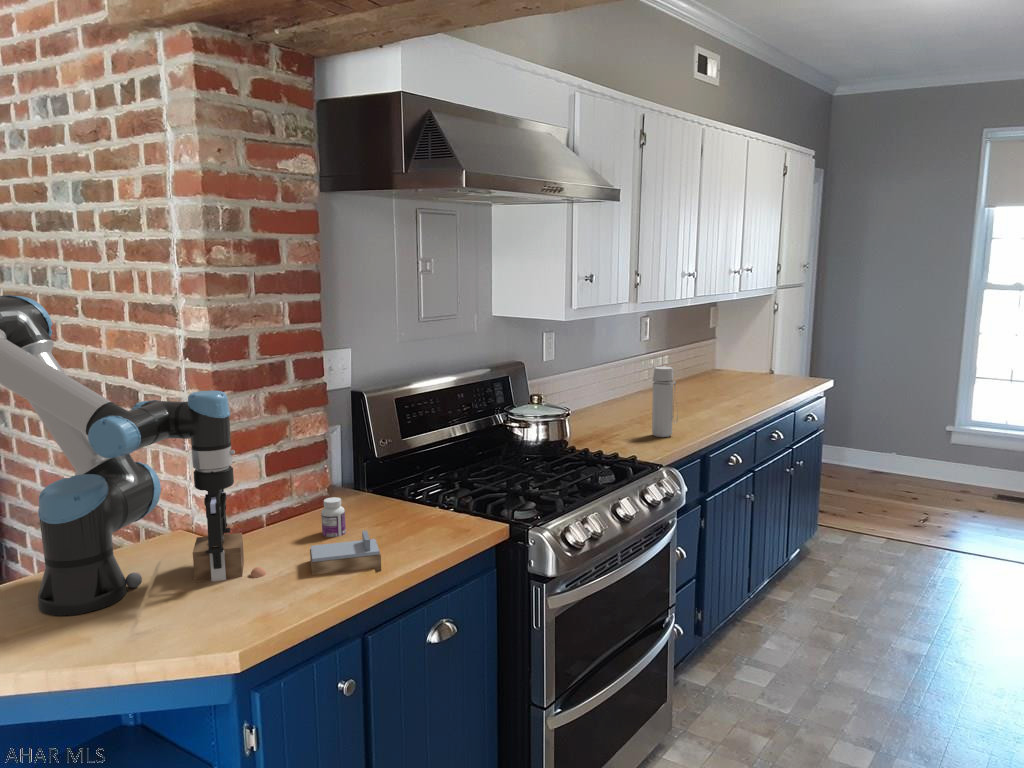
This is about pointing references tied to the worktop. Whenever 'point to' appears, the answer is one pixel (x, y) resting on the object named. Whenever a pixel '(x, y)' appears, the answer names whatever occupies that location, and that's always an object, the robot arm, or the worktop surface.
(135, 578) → the ball grey
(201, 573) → the cover
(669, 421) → the water bottle
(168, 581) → the worktop surface
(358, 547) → the sliding lid
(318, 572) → the pencil box
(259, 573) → the ball terracotta
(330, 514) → the pill bottle
